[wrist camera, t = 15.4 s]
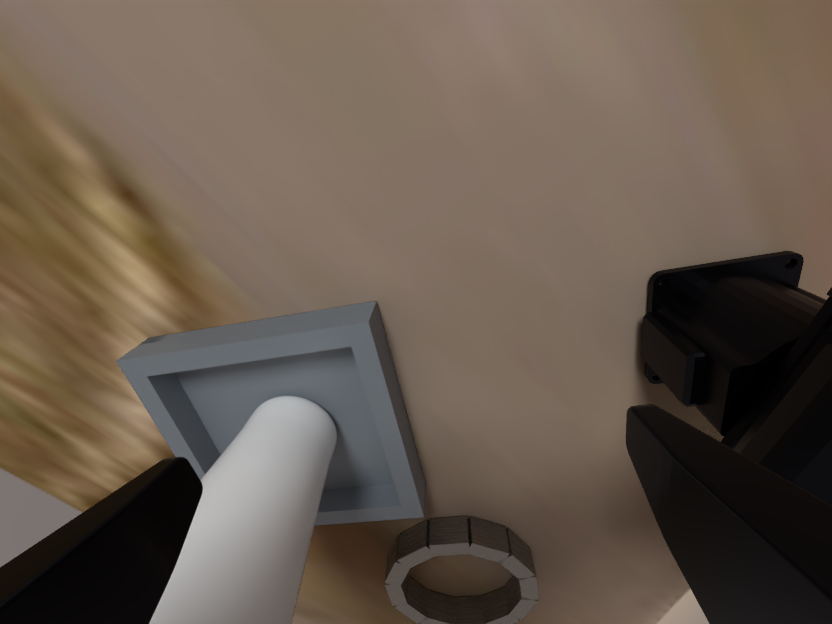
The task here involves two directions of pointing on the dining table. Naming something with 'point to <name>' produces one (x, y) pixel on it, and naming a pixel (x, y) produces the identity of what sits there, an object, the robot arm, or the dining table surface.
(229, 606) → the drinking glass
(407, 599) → the holder ring
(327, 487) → the tray
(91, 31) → the dining table surface
